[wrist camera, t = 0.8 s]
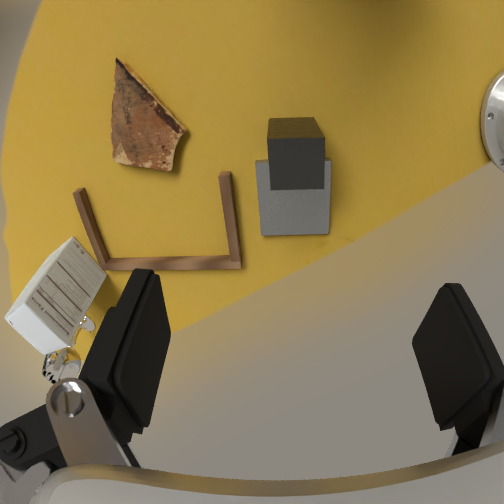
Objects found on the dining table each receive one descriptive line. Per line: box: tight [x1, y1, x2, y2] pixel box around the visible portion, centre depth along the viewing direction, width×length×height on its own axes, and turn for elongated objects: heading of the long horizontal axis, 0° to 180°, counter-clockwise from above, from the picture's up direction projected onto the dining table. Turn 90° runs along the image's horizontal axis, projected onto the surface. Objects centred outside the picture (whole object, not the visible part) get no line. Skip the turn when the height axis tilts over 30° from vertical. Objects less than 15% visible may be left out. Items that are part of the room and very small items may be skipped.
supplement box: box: [5, 237, 107, 355], centre depth 34 cm, size 7×7×13 cm
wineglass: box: [42, 315, 95, 384], centre depth 41 cm, size 6×6×12 cm
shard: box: [111, 58, 187, 171], centre depth 26 cm, size 11×8×2 cm
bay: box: [73, 171, 242, 270], centre depth 34 cm, size 18×11×1 cm, turn 95°
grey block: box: [255, 117, 331, 236], centre depth 27 cm, size 12×7×7 cm, turn 5°
